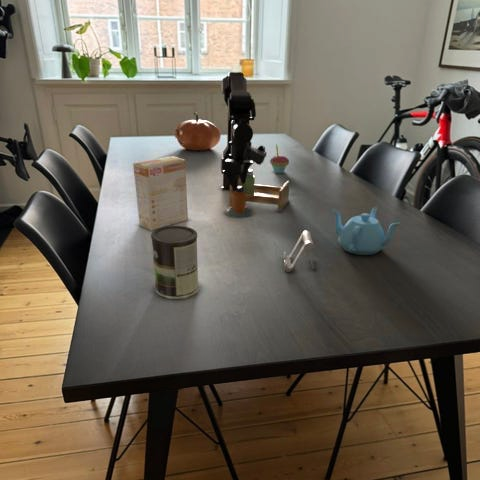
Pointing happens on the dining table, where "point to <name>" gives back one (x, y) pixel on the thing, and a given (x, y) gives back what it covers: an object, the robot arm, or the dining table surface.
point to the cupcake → (279, 162)
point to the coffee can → (175, 261)
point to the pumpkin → (197, 134)
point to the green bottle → (249, 183)
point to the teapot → (363, 233)
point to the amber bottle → (239, 200)
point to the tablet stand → (306, 246)
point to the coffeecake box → (161, 192)
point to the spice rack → (266, 194)
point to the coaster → (234, 214)
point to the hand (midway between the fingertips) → (239, 186)
